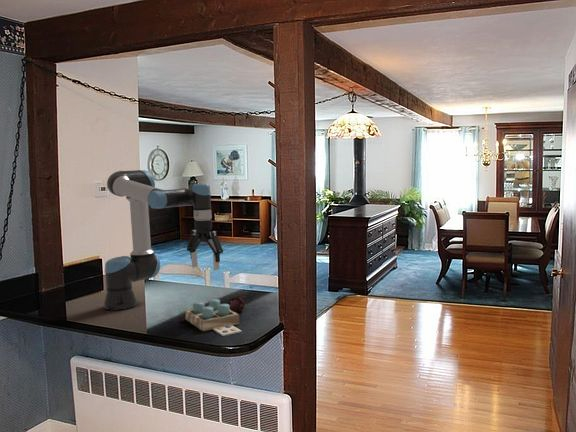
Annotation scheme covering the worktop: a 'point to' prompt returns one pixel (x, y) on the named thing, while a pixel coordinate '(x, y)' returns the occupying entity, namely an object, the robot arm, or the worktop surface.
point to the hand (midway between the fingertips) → (205, 268)
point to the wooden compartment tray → (211, 320)
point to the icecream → (236, 304)
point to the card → (226, 330)
